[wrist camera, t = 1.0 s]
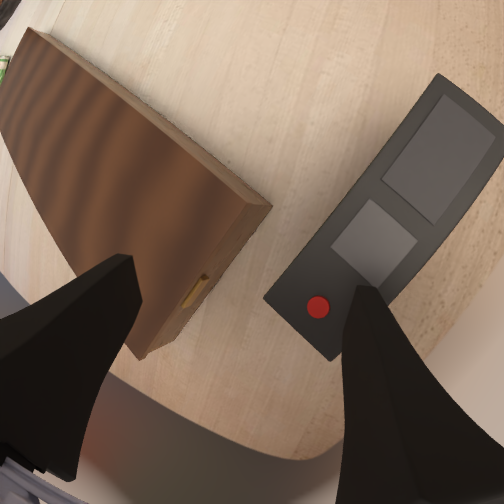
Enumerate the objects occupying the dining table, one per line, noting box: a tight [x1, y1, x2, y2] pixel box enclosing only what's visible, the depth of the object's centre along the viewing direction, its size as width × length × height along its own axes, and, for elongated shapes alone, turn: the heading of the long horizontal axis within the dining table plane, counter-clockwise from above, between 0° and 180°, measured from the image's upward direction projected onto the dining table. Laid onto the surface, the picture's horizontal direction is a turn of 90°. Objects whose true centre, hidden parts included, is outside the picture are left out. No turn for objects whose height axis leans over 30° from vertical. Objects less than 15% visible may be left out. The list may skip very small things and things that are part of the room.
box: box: [0, 27, 273, 361], centre depth 32 cm, size 54×16×5 cm, turn 51°
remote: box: [263, 73, 504, 362], centre depth 12 cm, size 12×4×3 cm, turn 141°
